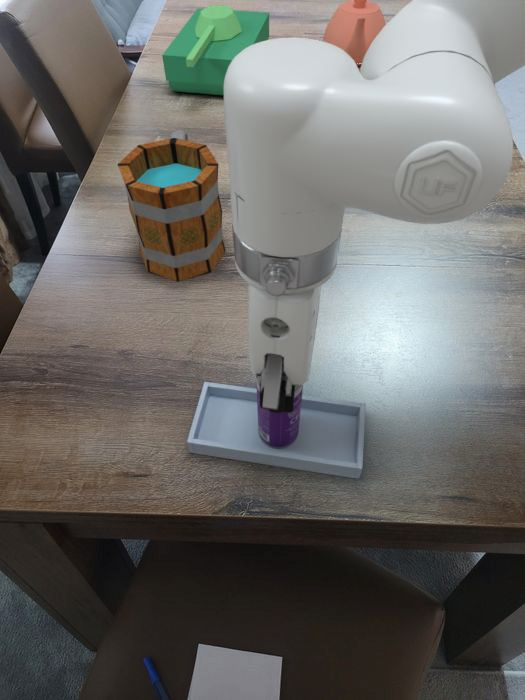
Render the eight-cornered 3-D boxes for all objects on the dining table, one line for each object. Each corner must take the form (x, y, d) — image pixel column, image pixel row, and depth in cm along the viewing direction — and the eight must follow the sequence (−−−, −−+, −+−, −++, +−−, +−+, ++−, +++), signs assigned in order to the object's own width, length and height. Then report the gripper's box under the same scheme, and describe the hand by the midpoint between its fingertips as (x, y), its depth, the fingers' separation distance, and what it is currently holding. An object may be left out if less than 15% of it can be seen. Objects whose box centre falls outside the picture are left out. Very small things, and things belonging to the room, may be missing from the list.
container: (296, 452, 55) (303, 376, 43) (255, 446, 56) (251, 369, 44) (300, 416, 58) (308, 335, 46) (261, 410, 59) (259, 330, 47)
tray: (362, 415, 59) (365, 403, 57) (358, 479, 54) (362, 469, 52) (206, 393, 61) (204, 381, 59) (189, 452, 56) (186, 442, 54)
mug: (223, 281, 73) (215, 194, 61) (132, 281, 73) (106, 194, 61) (229, 201, 85) (223, 116, 73) (152, 201, 85) (133, 116, 73)
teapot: (387, 79, 113) (398, 17, 104) (319, 76, 114) (324, 15, 105) (383, 41, 127) (393, -17, 117) (322, 38, 128) (327, -19, 118)
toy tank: (146, 50, 95) (195, -10, 116) (157, 113, 104) (201, 47, 125) (235, 56, 92) (269, -7, 113) (238, 121, 102) (269, 52, 123)
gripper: (328, 340, 29) (308, 468, 44) (346, 179, 40) (325, 326, 54) (207, 325, 30) (226, 456, 45) (255, 171, 40) (258, 318, 55)
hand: (280, 383), depth 49 cm, fingers closed on container, 4 cm apart
